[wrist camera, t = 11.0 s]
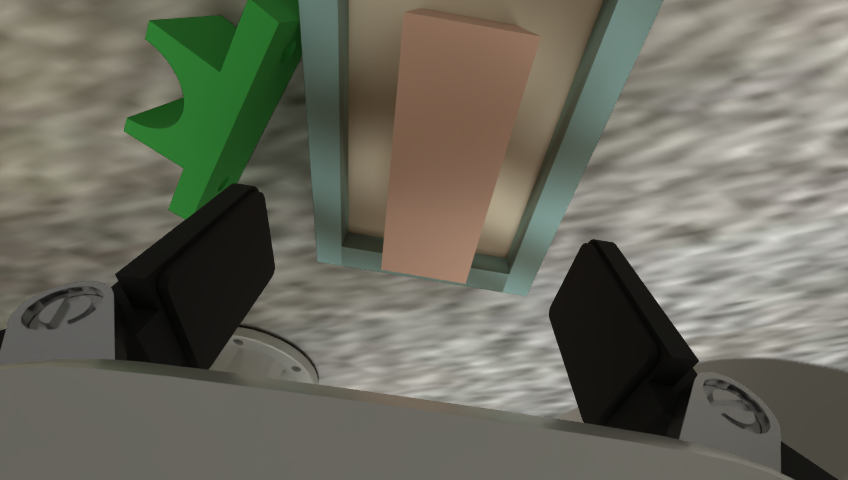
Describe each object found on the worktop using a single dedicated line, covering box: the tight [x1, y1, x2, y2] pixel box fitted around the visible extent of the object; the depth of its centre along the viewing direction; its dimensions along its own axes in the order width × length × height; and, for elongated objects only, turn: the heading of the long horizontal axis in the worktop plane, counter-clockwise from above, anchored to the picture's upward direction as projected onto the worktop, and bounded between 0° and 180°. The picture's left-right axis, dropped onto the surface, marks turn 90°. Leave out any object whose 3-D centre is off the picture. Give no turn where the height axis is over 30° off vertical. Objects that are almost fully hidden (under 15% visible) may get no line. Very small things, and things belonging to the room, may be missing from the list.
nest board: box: [298, 0, 663, 296], centre depth 16 cm, size 17×13×2 cm
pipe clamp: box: [124, 0, 302, 220], centre depth 15 cm, size 11×4×5 cm, turn 141°
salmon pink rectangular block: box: [381, 8, 541, 284], centre depth 14 cm, size 4×10×5 cm, turn 172°
